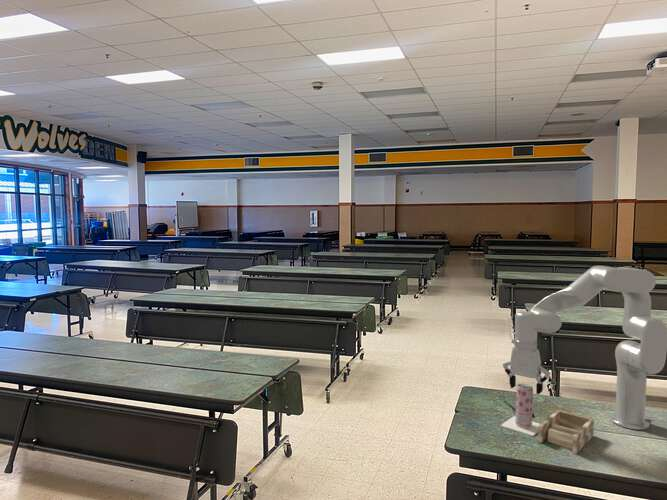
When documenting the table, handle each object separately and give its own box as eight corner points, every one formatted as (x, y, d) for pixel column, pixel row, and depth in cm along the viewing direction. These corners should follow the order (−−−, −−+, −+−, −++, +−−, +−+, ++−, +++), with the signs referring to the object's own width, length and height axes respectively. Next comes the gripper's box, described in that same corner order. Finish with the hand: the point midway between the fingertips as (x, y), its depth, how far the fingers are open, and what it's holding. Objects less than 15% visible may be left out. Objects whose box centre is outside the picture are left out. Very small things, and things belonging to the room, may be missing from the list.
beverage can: (512, 424, 176) (513, 385, 175) (519, 420, 180) (521, 382, 179) (527, 429, 172) (528, 390, 171) (534, 425, 176) (535, 386, 175)
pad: (513, 417, 185) (513, 415, 185) (545, 426, 176) (545, 425, 176) (500, 426, 176) (500, 425, 176) (532, 436, 168) (533, 435, 168)
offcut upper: (553, 430, 168) (553, 424, 168) (577, 437, 163) (578, 430, 163) (548, 436, 164) (548, 429, 164) (573, 443, 159) (573, 436, 158)
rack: (557, 425, 177) (557, 409, 177) (593, 435, 169) (593, 419, 168) (537, 442, 164) (538, 425, 163) (576, 454, 155) (576, 436, 155)
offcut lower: (553, 437, 169) (554, 430, 168) (577, 445, 163) (578, 438, 163) (547, 443, 164) (547, 436, 164) (571, 450, 159) (572, 443, 159)
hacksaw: (535, 418, 185) (535, 414, 184) (509, 418, 184) (509, 414, 184) (511, 396, 209) (511, 392, 209) (488, 395, 208) (488, 392, 208)
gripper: (499, 343, 178) (499, 387, 179) (546, 351, 166) (546, 398, 167) (507, 339, 183) (507, 382, 184) (553, 346, 171) (553, 392, 172)
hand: (525, 390), depth 175 cm, fingers open, 9 cm apart
